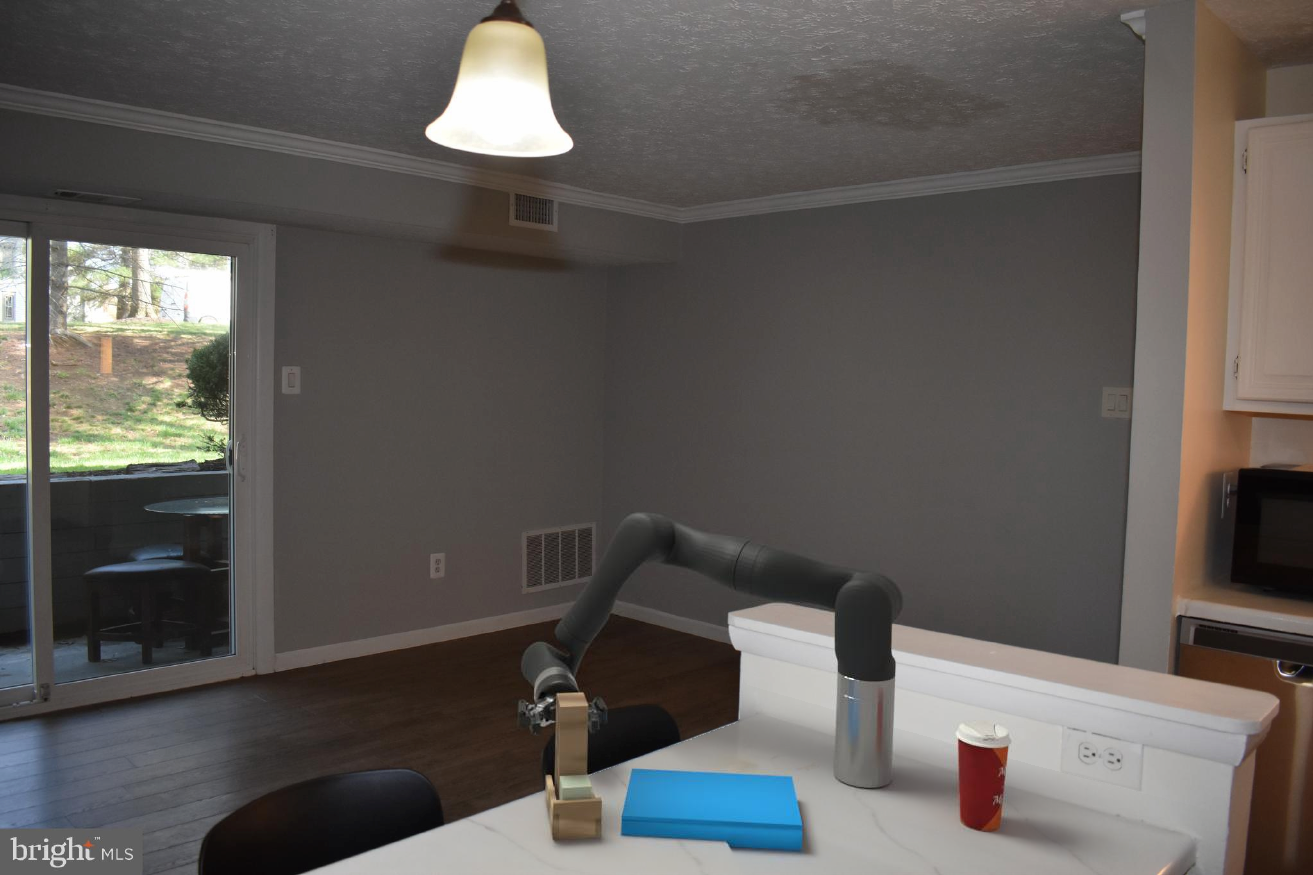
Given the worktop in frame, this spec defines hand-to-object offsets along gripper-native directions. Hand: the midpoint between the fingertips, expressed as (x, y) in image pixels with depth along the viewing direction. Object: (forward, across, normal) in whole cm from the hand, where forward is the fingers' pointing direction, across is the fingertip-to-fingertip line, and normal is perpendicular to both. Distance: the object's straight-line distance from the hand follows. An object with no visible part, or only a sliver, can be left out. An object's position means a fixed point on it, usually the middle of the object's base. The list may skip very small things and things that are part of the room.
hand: (566, 728), depth 142 cm
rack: (+11, 0, +10) cm, 15 cm away
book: (+12, +20, +11) cm, 26 cm away
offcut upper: (+14, 0, +5) cm, 15 cm away
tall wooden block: (+8, 0, +9) cm, 12 cm away
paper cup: (+19, +59, +10) cm, 63 cm away
